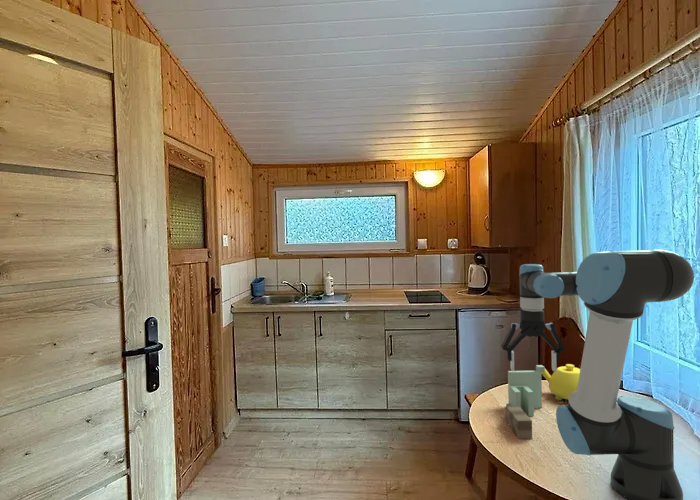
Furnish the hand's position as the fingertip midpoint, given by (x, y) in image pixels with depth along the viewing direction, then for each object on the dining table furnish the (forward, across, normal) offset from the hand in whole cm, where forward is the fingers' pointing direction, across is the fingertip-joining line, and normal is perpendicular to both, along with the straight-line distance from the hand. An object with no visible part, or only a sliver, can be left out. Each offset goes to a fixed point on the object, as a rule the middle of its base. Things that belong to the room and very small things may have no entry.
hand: (533, 370), depth 142 cm
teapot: (+20, -19, -29) cm, 40 cm away
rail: (+20, +6, 0) cm, 21 cm away
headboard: (+20, -2, -14) cm, 24 cm away
